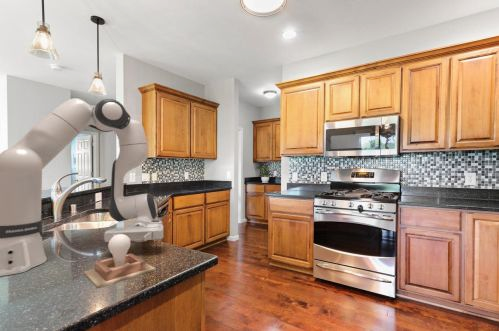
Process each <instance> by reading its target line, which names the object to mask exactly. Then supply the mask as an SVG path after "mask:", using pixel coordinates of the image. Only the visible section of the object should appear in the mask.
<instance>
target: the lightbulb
mask: <svg viewBox="0 0 499 331" xmlns="http://www.w3.org/2000/svg"><path fill="white" fill-rule="evenodd" d="M107 246H108V250H109V252H110V254H112V258H114V262H115V268H116V267H120V266H124V261H125V257H126V255H127V254H128V251H129V249H130V246H131V241H130V239H129V237H128V236H126V235H124V234H118V235H115V236H113V237H112V238H111V239H110V241H109V242H108V244H107Z"/></svg>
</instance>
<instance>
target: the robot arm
mask: <svg viewBox="0 0 499 331" xmlns="http://www.w3.org/2000/svg"><path fill="white" fill-rule="evenodd" d="M87 127H89V128H92V129H96V130H97V131H99V132H104V133H109V132H113V133H114V134H115V135H116V137H117V139H118V147H119V153H118V157H117V158H116V159H114V160H113V163H112V165H111V166H112V168H111V179H110V180H111V182H110V200H109V207H108V213H109V216H110V218H111V219H112V220H114V221H116V222H120V223H121V222H124V221H128V220H132V219H134V220H133V221H131V222H130V224H129V225H128V226H127V227H114V228H111V229H109V230H108V229H107V230H106V231H105V232H104V234H103V240H104V242H105V243H109V241H110V239H111V238H112V237H113V236H115V235H118V234H124V235H126V236H128V237H129V239H130V242H131V241H132V242H135V243H142V242H147V241H151V240H154V241H155V240H161V239H163V238H164V225H163V221H161V220H158V217H157V216H158V215H159V204H158V200H157V199H156V198H155V196H154V195H152V194H151V193H141V194H136V195H129V196H124V186H125V185H124V184H125V183H124V182H125V179H124V178H125V177H126V175H127V174H128V173H129V172H130V171H132V170H134V169H135V168H138V167H140V166H142V164H143V163H145V162H146V161H147V159H148V157H149V146H148V140H147V135H146V132H145V127H144V126H143V124H142V122H140V121H139V120H137V119H133V118H131V115H130V114H129V113H128V111H127V110H126V108H125V107H124V106H123V104H121V102H120V101H118V100H115V99H114V98H113V99H112V98H105V99H103V100H100V101H99V102H98V103H96V104H95V105H92V104H89V103H87V102H86V101H85V100H83V99H81V98H75V97H73V98H70V99H67V100H66V101H64V102H62V103H61V104H60V105H58V106H57V107H56V108H54V109H52V111H50V112H49V113H48V114H47V115H46V116H45V117H43V118H42V119H41V120H40V121H39V122H37V123H36V124H35V125H34V126H33V127H32V128H31V129H30V130H28V132H27V133H26V134H25V135H24V136H22V137H21V139H20V140H18V141H17V143H15V144H14V145H13V146H12V147H10V148H7V149H5V150H3V151H2V152H0V277H4V276H10V275H15V274H20V273H24V272H27V271H29V270H30V269H32V268H35V267H37V266H40V265H42V264H43V263H46V262H47V260H48V258H47V256H46V253H45V252H46V251H45V248H44V243H43V235H44V221H43V220H42V195H43V194H42V192H43V191H42V190H43V188H42V187H43V186H42V184H43V170H44V169H45V167H47V165H49V164H50V162H52V161H53V160H54V159H55V158H56V156H58V155H59V154H60V153H61V152H62V151H63V150H64V149H65V148H66V147H67V146H68V145H69V144H70V143H71V142H72V141H73V140H74V139H75V138H76V137H78V136H79V135H80V134H81V133H82V131H83V130H85V129H86V128H87Z"/></svg>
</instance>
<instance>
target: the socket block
mask: <svg viewBox="0 0 499 331" xmlns="http://www.w3.org/2000/svg"><path fill="white" fill-rule="evenodd" d="M154 271H155V272H156V267H154V266H152V265H151V264H149V263H147V262H146V261H145V259H142V258H140V257H139V256H137V255H135V254H133V253H126V257H125V261H124V266H120V267H116V268H115V262H114V258H113V257H111V258H106V259H103V260H98V261H94V268H92V269H91V268H90V269H88V270H85V271H83V274H84V275H85V277H87V279H88V280H89V281H90V282H91V283H92V284H93V285H94V286H95V287H96V289H100V288H102V287H107V286H108V285H112V284H116V283H119V282H123V281H125V280H128V279H131V278H132V279H133V278H135V277H139V276H142V275H144V274H148V273H152V272H154Z"/></svg>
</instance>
